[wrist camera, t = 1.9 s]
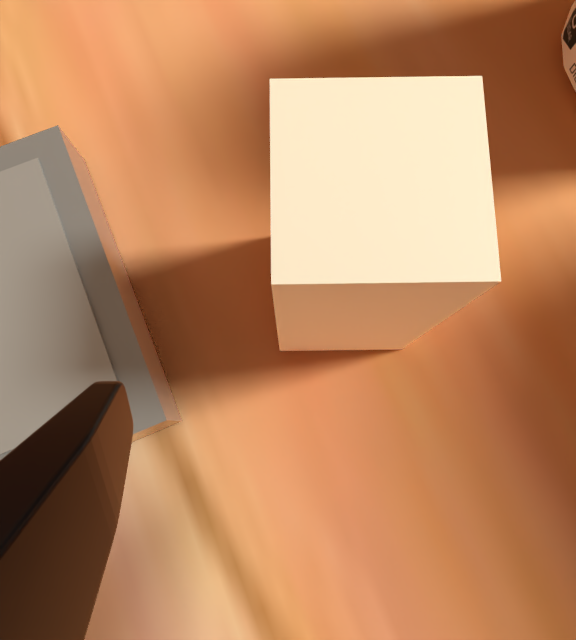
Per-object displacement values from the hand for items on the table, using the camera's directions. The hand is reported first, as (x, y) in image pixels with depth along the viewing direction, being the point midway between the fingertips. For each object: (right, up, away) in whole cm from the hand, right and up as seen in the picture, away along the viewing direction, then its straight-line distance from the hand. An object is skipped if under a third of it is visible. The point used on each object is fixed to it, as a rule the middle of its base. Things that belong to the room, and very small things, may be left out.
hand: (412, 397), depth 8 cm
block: (0, +2, +12) cm, 12 cm away
